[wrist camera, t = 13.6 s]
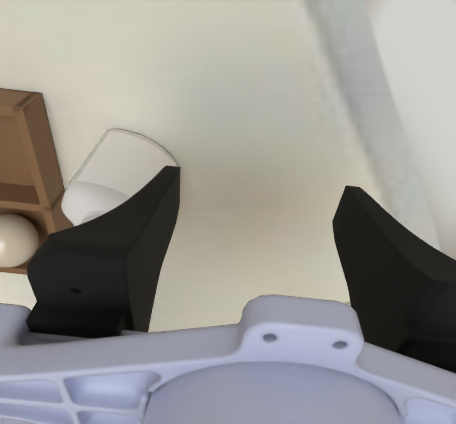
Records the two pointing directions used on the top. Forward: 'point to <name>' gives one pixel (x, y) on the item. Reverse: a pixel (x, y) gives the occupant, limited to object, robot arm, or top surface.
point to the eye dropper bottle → (112, 174)
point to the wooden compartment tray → (29, 166)
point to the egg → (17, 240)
